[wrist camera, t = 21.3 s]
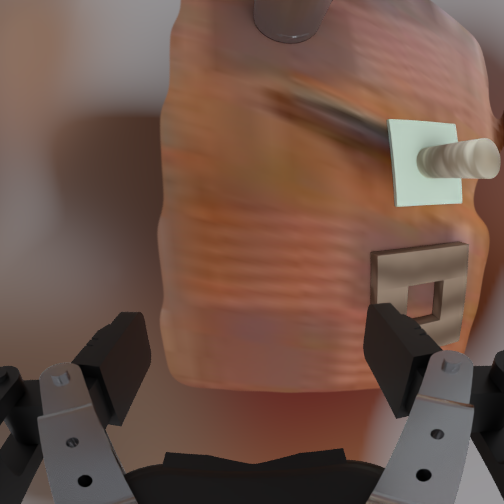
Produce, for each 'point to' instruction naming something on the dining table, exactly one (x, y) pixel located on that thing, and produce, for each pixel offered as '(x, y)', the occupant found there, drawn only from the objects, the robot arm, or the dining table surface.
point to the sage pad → (405, 166)
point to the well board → (419, 272)
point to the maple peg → (460, 160)
